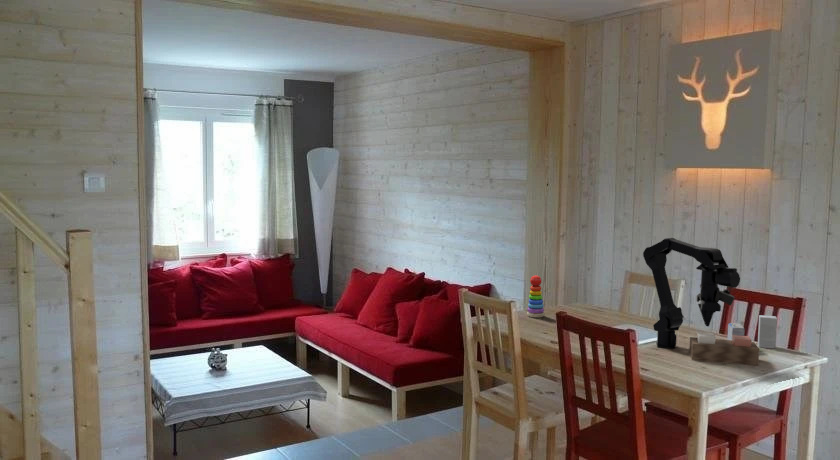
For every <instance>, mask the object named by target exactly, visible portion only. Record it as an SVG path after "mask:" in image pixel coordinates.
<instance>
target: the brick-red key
mask: <svg viewBox="0 0 840 460" xmlns="http://www.w3.org/2000/svg"><path fill="white" fill-rule="evenodd" d="M751 342H753V340H752V338H751V336H749V335H744V336H738V335H733V336H732V344H733V346H743V347H751Z"/></svg>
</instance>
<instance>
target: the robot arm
mask: <svg viewBox="0 0 840 460" xmlns="http://www.w3.org/2000/svg"><path fill="white" fill-rule="evenodd" d="M672 251H674V252H677V253H679V254H683V255H686V256H689V257H692V258H693V259H695V260H696V261H697V262H698V263H700V265H698V266H697V267H696V270H699V271H701V273H700V274H701V275H700V277H701V278H700V284H699V289H700V293H698V294H697V295H696V302H698V304H697V306H698V308H699V311H700V314H701V317H702V319H703V323H704V325H705V327H710V325H711V321H712V318H713V315H714V313H716V312H721V311H722V310H721V309H722V305H721V304H720V303H719V302H723V303H725V304H727V305H728V306H732V304H733V302H734V300H735V296H734V295H732V294H730V290H729V289H726V288H724V289H723V290H720V287H719V286H722V287H727V288H733V289H736V288H737V287H738V286H739V285H740V282H741V277H740V274H739V272H738V269H737V268H736V267H735V268H734V267H729V265H728V263H727V261H726V260H725V258H724V256H723V253H722V251H721V250H720V249H718V248H716V247H715V248H713V247H701V246H697V245H694V244H691V243H689V242H685V241H682V240H680V239H676V238H674V237H666V238H663V239H662V240H661V241H660V242H657V243H655V244H653V245H651V246H647V247H646V248H645V249H644V251H643V253H642V256H643V259H644V261H645V264H646V266H647V267H648V268H649V269H650V270H651V273H652V276H653V280H654V284H655V289H656V292H657V297H658V301H659V305H660V308H659V311H658V312H659V313H658V318H659V319H658V320H657V321H656V322H655V323H654V324H653V326H652V327H653V331H654V332H655V331H656V333H657V334H656V336H657V337H656V347H657V348H665V349H676V346H677V338H678V337H677V334H676V331H679V330H680V327H681V326H682V324H683V322H684V317H685V316H684V315H683V310H682V308H681V307H680V306H679V307H678V306H677V305H676V304H675V302H674V298H673V296H672V295H673V294H672V291H671V287H670V284H669V278H668V274H667V272H666V271H667V270H666V264H667V260H668V258H667V255H669V254H670V253H671V252H672ZM699 302H700V303H699Z"/></svg>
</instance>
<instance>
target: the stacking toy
mask: <svg viewBox="0 0 840 460" xmlns="http://www.w3.org/2000/svg"><path fill="white" fill-rule="evenodd" d="M529 281H530V284H531V286H530V291H529V296H528V298H529V299H528V305H527V306H528V307H527V312H526V315H527V317H530V318H543V317H544V316H545V309H544V300H543V295H542V294H543V292H542V286H541V284H542V278H541V276H539V275H533V276H531V277H530V280H529Z"/></svg>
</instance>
